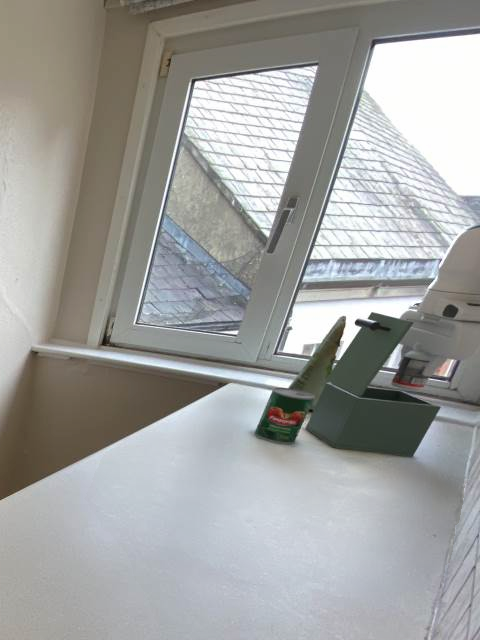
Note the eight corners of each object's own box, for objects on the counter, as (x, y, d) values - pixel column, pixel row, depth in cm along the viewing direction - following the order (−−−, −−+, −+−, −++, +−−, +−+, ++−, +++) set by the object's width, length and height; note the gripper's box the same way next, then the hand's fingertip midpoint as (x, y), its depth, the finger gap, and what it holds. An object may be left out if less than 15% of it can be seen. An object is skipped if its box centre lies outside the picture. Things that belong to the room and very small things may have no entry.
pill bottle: (390, 382, 125) (412, 339, 121) (422, 388, 122) (446, 344, 118) (389, 386, 122) (411, 342, 118) (422, 392, 119) (446, 347, 114)
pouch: (302, 401, 158) (342, 312, 147) (339, 415, 147) (384, 320, 136) (267, 400, 157) (304, 310, 146) (300, 414, 147) (343, 318, 135)
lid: (375, 312, 123) (353, 307, 123) (414, 322, 112) (389, 316, 112) (328, 381, 130) (307, 375, 131) (360, 396, 119) (338, 390, 120)
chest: (376, 437, 133) (401, 390, 128) (412, 457, 122) (441, 406, 117) (304, 428, 136) (326, 382, 131) (333, 447, 125) (357, 398, 120)
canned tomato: (264, 441, 126) (284, 396, 121) (247, 429, 133) (265, 386, 128) (302, 445, 125) (323, 399, 120) (283, 433, 132) (303, 389, 127)
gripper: (398, 298, 124) (368, 359, 130) (468, 312, 106) (430, 381, 112) (430, 300, 123) (399, 361, 129) (507, 315, 105) (466, 385, 111)
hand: (414, 371), depth 120 cm, fingers closed on pill bottle, 5 cm apart
